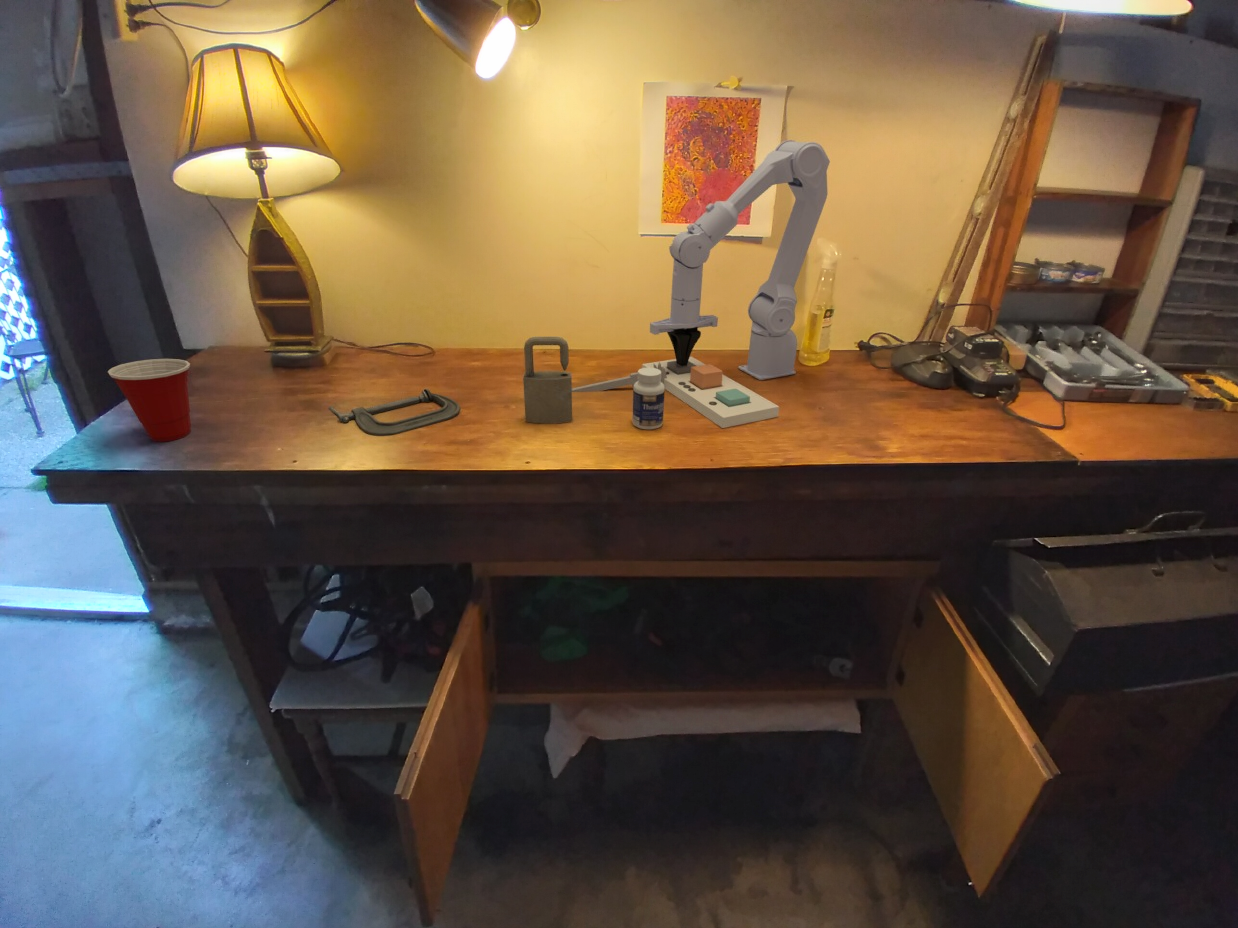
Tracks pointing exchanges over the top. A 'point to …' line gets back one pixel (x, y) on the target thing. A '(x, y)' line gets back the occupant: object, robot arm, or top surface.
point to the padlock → (547, 386)
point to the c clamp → (392, 428)
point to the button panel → (710, 405)
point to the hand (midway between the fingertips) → (681, 364)
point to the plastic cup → (157, 395)
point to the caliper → (617, 382)
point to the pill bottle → (648, 399)
